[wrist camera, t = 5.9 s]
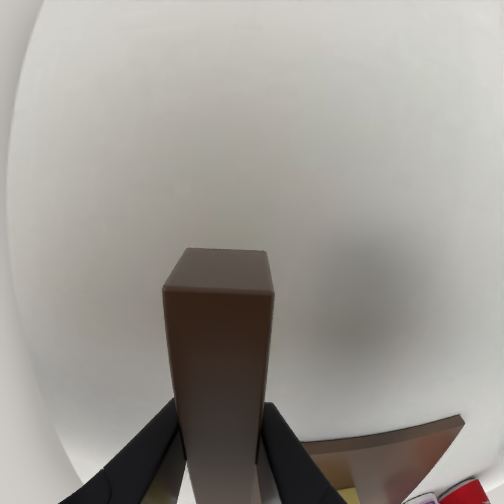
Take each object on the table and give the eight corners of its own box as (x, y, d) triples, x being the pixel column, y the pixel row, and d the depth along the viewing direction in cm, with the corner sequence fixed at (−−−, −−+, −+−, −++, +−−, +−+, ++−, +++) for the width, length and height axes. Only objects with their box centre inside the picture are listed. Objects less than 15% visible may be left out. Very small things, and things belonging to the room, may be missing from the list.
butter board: (229, 531, 20) (229, 538, 19) (227, 442, 15) (226, 455, 14) (379, 516, 21) (381, 522, 20) (459, 414, 15) (465, 423, 14)
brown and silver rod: (214, 534, 14) (213, 560, 12) (185, 246, 7) (160, 286, 5) (243, 536, 14) (242, 562, 12) (267, 249, 7) (275, 291, 5)
